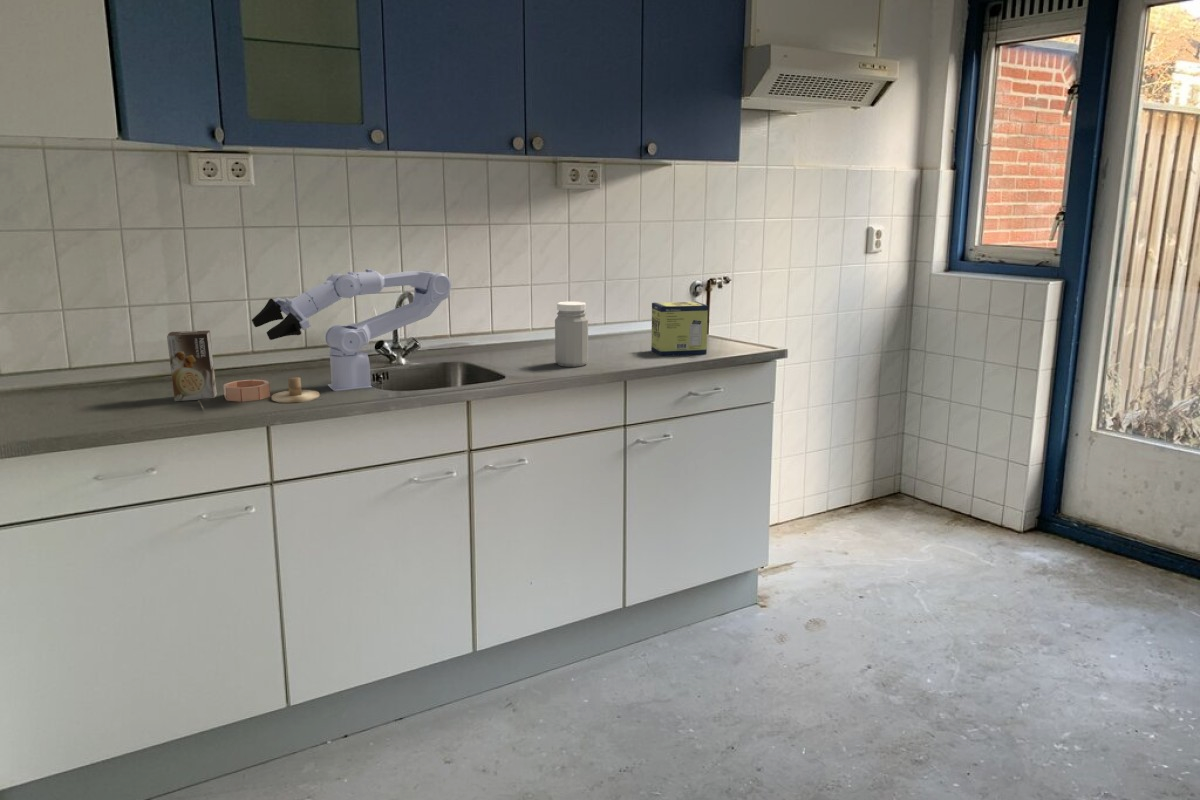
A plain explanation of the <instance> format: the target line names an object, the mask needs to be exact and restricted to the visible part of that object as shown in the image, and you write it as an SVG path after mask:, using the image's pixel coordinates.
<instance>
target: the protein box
mask: <svg viewBox="0 0 1200 800" xmlns="http://www.w3.org/2000/svg"><path fill="white" fill-rule="evenodd" d="M708 309H709V307H708V305H706V304H704V303H702V302H699V301H695V300H694V301H672V302H670V301H669V302H651V346H650V347H651V348H650V351H652V352H653V353H654V354H656V355H658V356H660V357H670V356H671V357H672V356H673V357H674V356H696V355H697V356H699V355H707V351H708V350H707V349H708V347H707V346H708V318H709V317H708V315H709V314H708V312H709V311H708Z"/></svg>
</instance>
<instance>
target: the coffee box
mask: <svg viewBox="0 0 1200 800" xmlns="http://www.w3.org/2000/svg"><path fill="white" fill-rule="evenodd" d="M166 339H167V340H166V341H167V347H168V355H169V356H168V357H169V364H170V373H171V382H172V389H173V399H174V402H181V401H182V402H183V401H198V400H199V401H200V400H202V399H215V398H216V396H217V394H218V393H217V392H218V391H217V386H216V374H215V368H214V358H213V349H212V340H211V339H212V338H211V330H189V331H188V330H185V331H170V332H169V333H168V334H167V336H166Z"/></svg>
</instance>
